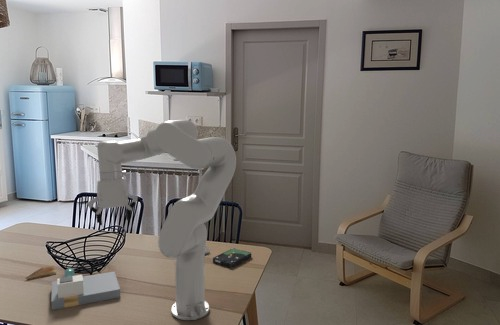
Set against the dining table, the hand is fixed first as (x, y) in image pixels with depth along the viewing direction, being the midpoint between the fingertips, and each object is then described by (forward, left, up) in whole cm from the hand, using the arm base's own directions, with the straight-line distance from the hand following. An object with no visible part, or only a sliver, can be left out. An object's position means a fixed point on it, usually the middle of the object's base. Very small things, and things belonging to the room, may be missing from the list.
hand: (114, 222), depth 148 cm
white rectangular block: (-3, +16, -23) cm, 28 cm away
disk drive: (+8, -49, -26) cm, 56 cm away
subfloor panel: (+1, +11, -26) cm, 28 cm away
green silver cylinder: (+5, +16, -26) cm, 31 cm away
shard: (+24, +25, -26) cm, 43 cm away
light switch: (+23, -37, -26) cm, 51 cm away
